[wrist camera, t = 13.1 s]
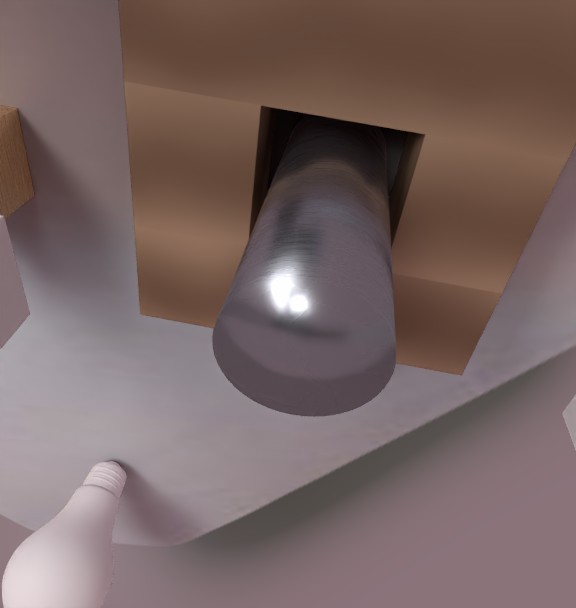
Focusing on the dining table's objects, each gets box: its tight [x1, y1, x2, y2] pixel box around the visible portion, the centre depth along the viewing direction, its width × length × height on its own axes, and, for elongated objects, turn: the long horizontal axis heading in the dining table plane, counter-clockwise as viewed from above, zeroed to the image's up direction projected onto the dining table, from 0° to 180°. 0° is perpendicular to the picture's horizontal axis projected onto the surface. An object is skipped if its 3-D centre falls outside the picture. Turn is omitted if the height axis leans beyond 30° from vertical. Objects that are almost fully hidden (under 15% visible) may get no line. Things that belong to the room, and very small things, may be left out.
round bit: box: [213, 114, 396, 416], centre depth 16 cm, size 4×4×12 cm
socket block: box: [118, 0, 576, 375], centre depth 19 cm, size 14×14×4 cm
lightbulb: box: [2, 461, 127, 608], centre depth 32 cm, size 6×6×11 cm
